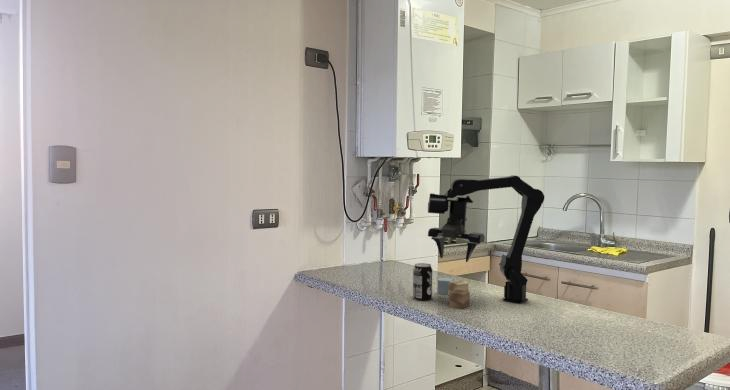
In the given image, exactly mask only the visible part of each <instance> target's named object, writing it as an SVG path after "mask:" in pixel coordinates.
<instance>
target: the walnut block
mask: <svg viewBox="0 0 730 390" xmlns="http://www.w3.org/2000/svg"><path fill="white" fill-rule="evenodd" d="M470 292H471V291H469V290H468V291H463V290H456V289H455V290H453V291H451V292H450V294H449V295H448V297H449V305H448V307H449V308H452V309H459V310H465V309H467V308H469V307H470V295H471V294H470ZM468 306H469V307H468Z"/></svg>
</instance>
